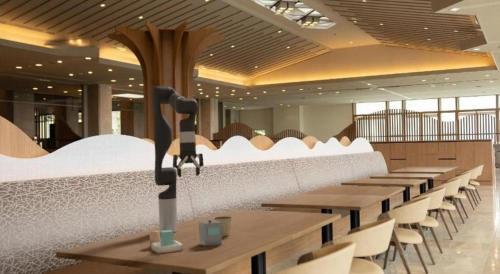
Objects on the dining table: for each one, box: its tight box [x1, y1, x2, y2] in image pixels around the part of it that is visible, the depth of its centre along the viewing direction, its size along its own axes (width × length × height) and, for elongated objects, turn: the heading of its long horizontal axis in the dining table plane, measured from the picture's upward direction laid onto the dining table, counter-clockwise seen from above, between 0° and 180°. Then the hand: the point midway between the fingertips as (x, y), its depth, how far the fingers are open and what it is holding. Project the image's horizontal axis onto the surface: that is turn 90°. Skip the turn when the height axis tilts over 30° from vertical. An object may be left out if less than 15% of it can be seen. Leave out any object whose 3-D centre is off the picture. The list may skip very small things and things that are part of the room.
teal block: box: [160, 230, 175, 247], centre depth 222 cm, size 4×4×7 cm
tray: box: [151, 240, 184, 254], centre depth 222 cm, size 11×11×2 cm
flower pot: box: [212, 215, 233, 237], centre depth 251 cm, size 9×9×9 cm
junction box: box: [198, 219, 223, 248], centre depth 230 cm, size 7×8×11 cm
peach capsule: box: [149, 229, 161, 248], centre depth 229 cm, size 4×4×7 cm
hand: (188, 176), depth 240 cm, fingers open, 8 cm apart
